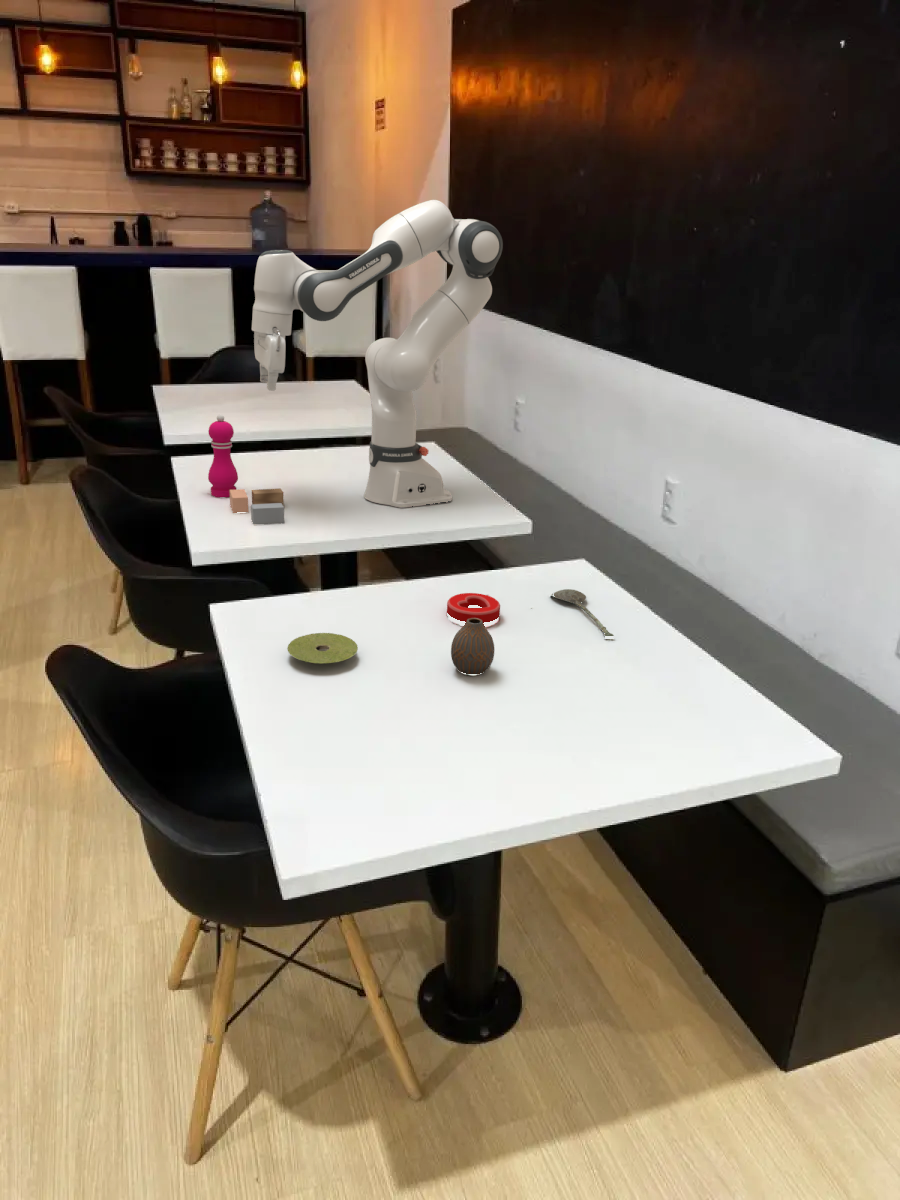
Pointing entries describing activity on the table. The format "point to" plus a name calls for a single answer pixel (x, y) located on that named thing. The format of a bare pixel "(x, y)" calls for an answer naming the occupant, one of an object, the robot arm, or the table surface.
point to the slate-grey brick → (267, 513)
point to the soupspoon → (579, 604)
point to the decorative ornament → (460, 610)
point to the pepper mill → (222, 459)
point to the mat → (322, 648)
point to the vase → (472, 648)
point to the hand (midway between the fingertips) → (267, 386)
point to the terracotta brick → (238, 500)
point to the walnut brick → (267, 496)
